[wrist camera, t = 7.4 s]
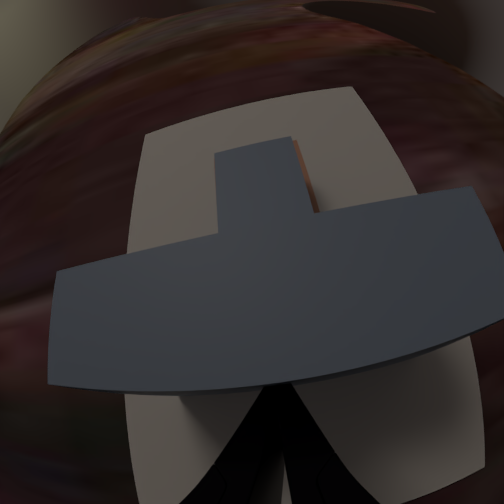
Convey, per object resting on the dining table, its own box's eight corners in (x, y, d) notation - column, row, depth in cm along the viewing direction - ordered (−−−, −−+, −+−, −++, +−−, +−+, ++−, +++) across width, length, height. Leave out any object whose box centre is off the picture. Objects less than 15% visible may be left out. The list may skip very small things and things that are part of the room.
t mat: (481, 465, 9) (484, 466, 9) (145, 514, 12) (141, 515, 12) (351, 89, 25) (351, 86, 25) (146, 137, 28) (145, 134, 28)
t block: (416, 357, 14) (522, 308, 5) (177, 395, 16) (47, 384, 7) (354, 165, 20) (359, 44, 11) (175, 204, 22) (107, 106, 13)
